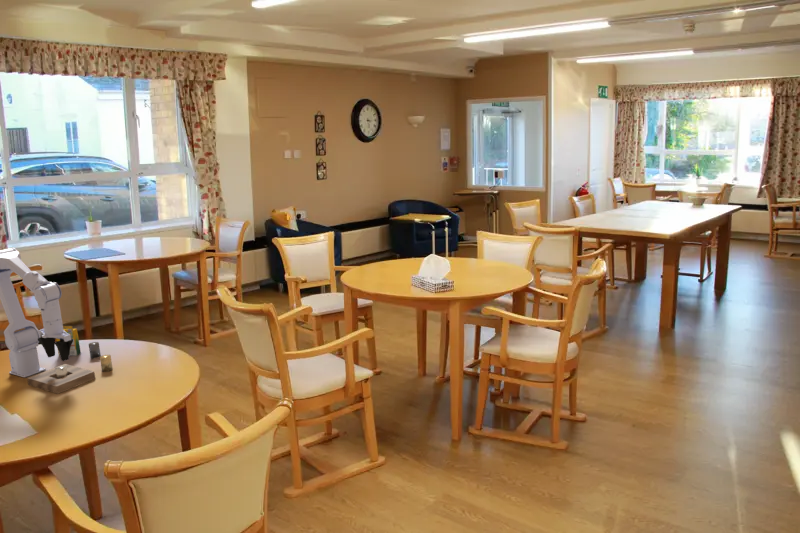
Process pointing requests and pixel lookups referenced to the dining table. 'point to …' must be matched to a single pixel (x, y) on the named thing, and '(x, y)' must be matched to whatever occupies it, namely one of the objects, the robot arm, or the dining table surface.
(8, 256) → the robot arm
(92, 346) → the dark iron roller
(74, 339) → the crayon box
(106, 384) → the dining table surface
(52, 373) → the socket board
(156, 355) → the dining table surface
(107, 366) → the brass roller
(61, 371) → the steel roller
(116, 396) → the dining table surface
